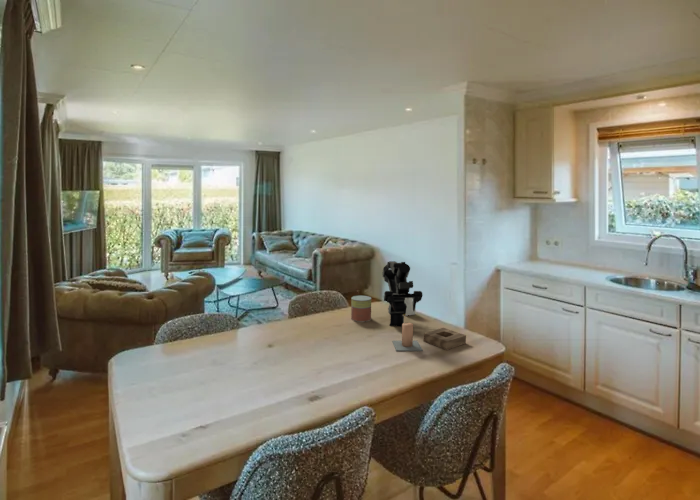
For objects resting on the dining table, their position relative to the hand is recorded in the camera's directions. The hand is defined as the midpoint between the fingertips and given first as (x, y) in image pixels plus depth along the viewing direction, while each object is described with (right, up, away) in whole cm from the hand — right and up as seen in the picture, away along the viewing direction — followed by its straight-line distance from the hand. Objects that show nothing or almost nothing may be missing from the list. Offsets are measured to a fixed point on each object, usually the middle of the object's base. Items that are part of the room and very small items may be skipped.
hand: (404, 311), depth 205 cm
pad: (0, -15, -9) cm, 18 cm away
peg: (0, -14, -9) cm, 17 cm away
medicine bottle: (+7, -8, +43) cm, 44 cm away
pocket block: (+19, -14, -3) cm, 24 cm away
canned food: (-20, -9, +32) cm, 39 cm away
